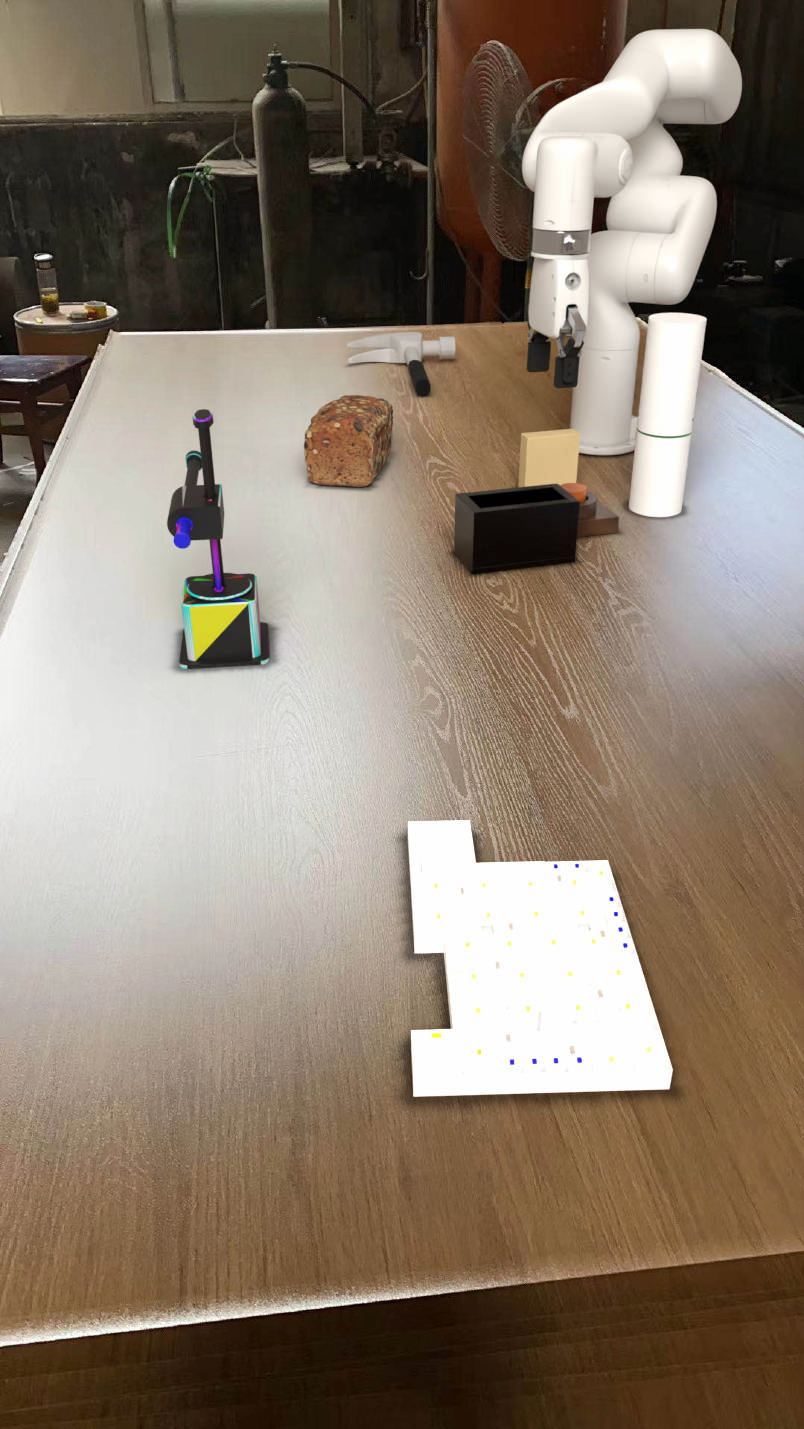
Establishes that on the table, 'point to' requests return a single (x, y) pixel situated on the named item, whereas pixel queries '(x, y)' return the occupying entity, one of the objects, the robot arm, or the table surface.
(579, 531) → the control block
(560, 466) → the toast
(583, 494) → the button
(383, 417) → the bread
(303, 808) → the table surface
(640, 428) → the cylindrical container
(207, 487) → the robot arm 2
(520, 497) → the toaster
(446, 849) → the floor plan model
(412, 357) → the claw hammer
